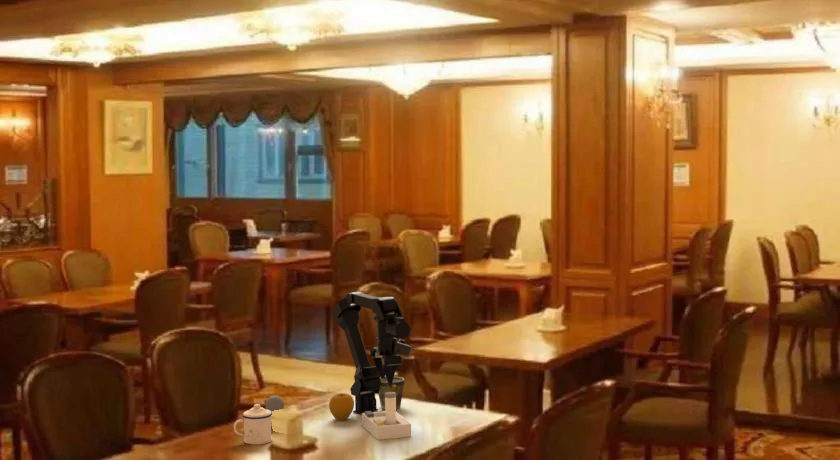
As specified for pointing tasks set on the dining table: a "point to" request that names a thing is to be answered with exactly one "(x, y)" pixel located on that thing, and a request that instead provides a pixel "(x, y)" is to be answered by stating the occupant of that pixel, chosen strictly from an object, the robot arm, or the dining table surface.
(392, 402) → the plug
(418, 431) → the dining table surface
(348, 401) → the apple
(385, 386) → the ceramic cup
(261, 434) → the teacup with lid
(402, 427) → the socket board
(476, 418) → the dining table surface
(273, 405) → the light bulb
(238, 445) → the dining table surface
